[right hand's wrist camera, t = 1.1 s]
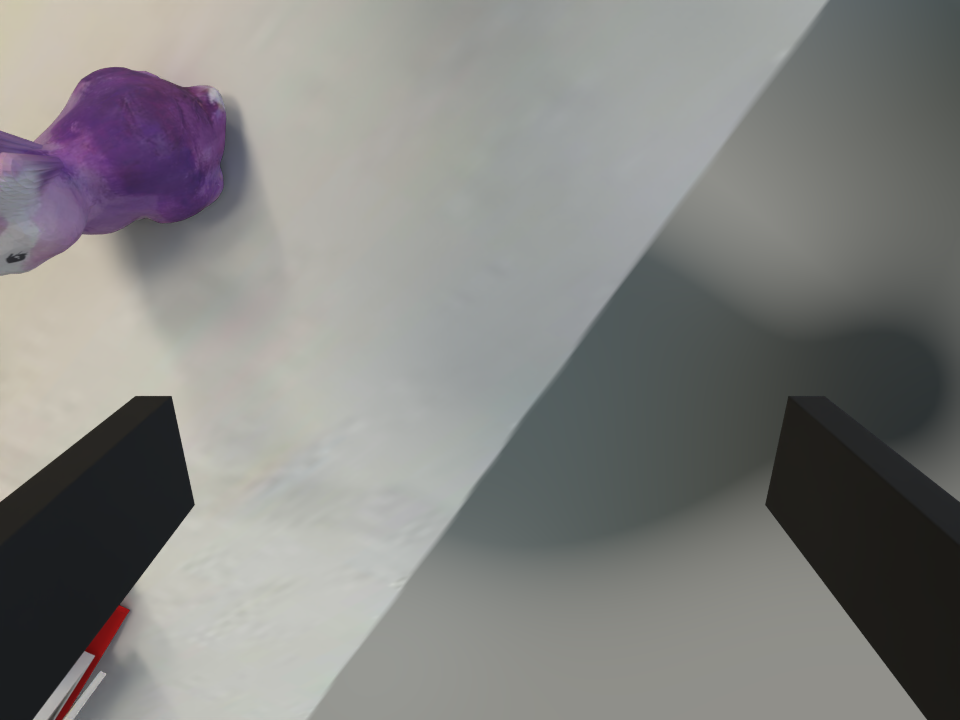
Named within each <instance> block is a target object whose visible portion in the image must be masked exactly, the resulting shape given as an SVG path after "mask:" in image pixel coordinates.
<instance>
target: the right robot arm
mask: <svg viewBox="0 0 960 720" xmlns="http://www.w3.org/2000/svg"><path fill="white" fill-rule="evenodd" d="M194 505H195V504H194V499H193V495H192V490H191V485H190V480H189V476H188V471H187V466H186V462H185V457H184V452H183V448H182V443H181V438H180V433H179V429H178V424H177V419H176V415H175V410H174V405H173V401H172V396H135V397H134V398H133V399H131V400H130V401H129V402H127V403H126V404H125V405H124V406H122V407H121V408H120V409H119V410H117V411H116V412H115V413H113V414H112V415H111V416H110V417H108V418H107V419H106V420H105V421H103V422H102V423H101V424H99V425H98V426H97V427H96V428H94V429H93V430H92V431H90V432H89V433H88V434H87V435H85V436H84V437H83V438H82V439H80V440H79V441H78V442H76V443H75V444H74V445H73V446H71V447H70V448H69V449H68V450H66V451H65V452H64V453H62V454H61V455H60V456H59V457H57V458H56V459H55V460H53V461H52V462H51V463H50V464H48V465H47V466H46V467H45V468H43V469H42V470H41V471H39V472H38V473H37V474H36V475H34V476H33V477H32V478H31V479H29V480H28V481H27V482H25V483H24V484H23V485H22V486H20V487H19V488H18V489H16V490H15V491H14V492H13V493H11V494H10V495H9V496H8V497H6V498H5V499H4V500H2V501H1V502H0V720H33V719H34V718H35V716H36V715H37V714H38V712H39V711H40V710H41V708H42V707H43V706H44V704H45V703H46V702H47V700H48V699H49V698H50V696H51V695H52V694H53V692H54V691H55V690H56V688H57V687H58V686H59V684H60V683H61V682H62V680H63V679H64V678H65V676H66V675H67V674H68V672H69V671H70V670H71V668H72V667H73V666H74V664H75V663H76V662H77V660H78V659H79V658H80V656H81V655H82V654H83V652H84V651H85V650H86V648H87V647H88V646H89V644H90V643H91V642H92V641H93V639H94V638H95V637H96V635H97V634H98V633H99V631H100V630H101V629H102V627H103V626H104V625H105V623H106V622H107V621H108V619H109V618H110V617H111V615H112V614H113V613H114V611H115V610H116V609H117V607H118V606H119V605H120V603H121V602H122V601H123V599H124V598H125V597H126V595H127V594H128V593H129V591H130V590H131V589H132V587H133V586H134V585H135V583H136V582H137V581H138V579H139V578H140V577H141V575H142V574H143V573H144V571H145V570H146V569H147V568H148V566H149V565H150V564H151V562H152V561H153V560H154V558H155V557H156V556H157V554H158V553H159V552H160V550H161V549H162V548H163V546H164V545H165V544H166V542H167V541H168V540H169V538H170V537H171V536H172V534H173V533H174V532H175V530H176V529H177V528H178V526H179V525H180V524H181V522H182V521H183V520H184V518H185V517H186V516H187V514H188V513H189V512H190V510H191V509H192V508H193V506H194ZM765 505H766V506H767V508H768V509H769V510H770V512H771V513H772V514H773V516H774V517H775V518H776V520H777V521H778V522H779V524H780V525H781V526H782V528H783V529H784V530H785V532H786V533H787V534H788V536H789V537H790V538H791V540H792V541H793V542H794V544H795V545H796V546H797V548H798V549H799V550H800V552H801V553H802V554H803V555H804V557H805V558H806V559H807V561H808V562H809V564H810V565H811V566H812V567H813V569H814V570H815V571H816V573H817V574H818V575H819V577H820V578H821V579H822V581H823V582H824V583H825V585H826V586H827V587H828V589H829V590H830V591H831V593H832V594H833V595H834V597H835V598H836V599H837V601H838V602H839V603H840V605H841V606H842V607H843V609H844V610H845V611H846V613H847V614H848V615H849V617H850V618H851V619H852V621H853V622H854V623H855V625H856V626H857V627H858V628H859V630H860V631H861V633H862V634H863V635H864V637H865V638H866V639H867V641H868V642H869V643H870V644H871V646H872V647H873V648H874V650H875V651H876V652H877V654H878V655H879V656H880V658H881V659H882V660H883V662H884V663H885V664H886V666H887V667H888V668H889V670H890V671H891V672H892V674H893V675H894V676H895V678H896V679H897V680H898V682H899V683H900V684H901V686H902V687H903V688H904V689H905V691H906V692H907V694H908V695H909V696H910V698H911V699H912V700H913V702H914V703H915V704H916V706H917V707H918V708H919V709H920V711H921V712H922V714H923V715H924V716H925V718H926V719H927V720H960V502H959V501H957V500H956V499H955V498H954V497H952V496H951V495H950V494H949V493H947V492H946V491H945V490H943V489H942V488H941V487H940V486H938V485H937V484H936V483H935V482H933V481H932V480H931V479H929V478H928V477H927V476H926V475H924V474H923V473H922V472H920V471H919V470H918V469H917V468H915V467H914V466H913V465H912V464H910V463H909V462H908V461H907V460H905V459H904V458H903V457H901V456H900V455H899V454H898V453H896V452H895V451H894V450H892V449H891V448H890V447H889V446H887V445H886V444H885V443H884V442H882V441H881V440H880V439H878V438H877V437H876V436H875V435H873V434H872V433H871V432H869V431H868V430H867V429H866V428H864V427H863V426H862V425H861V424H859V423H858V422H857V421H855V420H854V419H853V418H852V417H850V416H849V415H848V414H847V413H845V412H844V411H843V410H841V409H840V408H839V407H838V406H836V405H835V404H834V403H832V402H831V401H830V400H829V399H827V398H826V397H825V396H789V397H788V401H787V405H786V410H785V415H784V419H783V424H782V429H781V434H780V438H779V443H778V448H777V452H776V457H775V462H774V466H773V471H772V476H771V481H770V485H769V490H768V495H767V499H766V504H765Z"/></svg>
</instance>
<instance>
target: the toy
mask: <svg viewBox="0 0 960 720" xmlns="http://www.w3.org/2000/svg"><path fill="white" fill-rule="evenodd" d="M129 611H130V610H129V609H126V608H124V607H122V606H120V605H119V606H118V607H117V609H116V610H115V611H114V613H113V614H112V615H111V617H110V618H109V619H108V621H107V622H106V623H105V625H104V626H103V627H102V629H101V630H100V631H99V633H98V634H97V635H96V637H95V638H94V639H93V641H92V642H91V643H90V644H89V646H88V647H87V648H86V650H85V651H84V652H83V654H82V655H81V656H80V658H79V659H78V660H77V662H76V663H75V664H74V666H73V667H72V668H71V670H70V671H69V672H68V674H67V675H66V676H65V678H64V679H63V680H62V682H61V683H60V684H59V686H58V687H57V688H56V690H55V691H54V692H53V694H52V695H51V696H50V698H49V699H48V700H47V702H46V703H45V704H44V706H43V707H42V708H41V710H40V711H39V712H38V714H37V715H36V716H35V718H34V719H33V720H73V719H74V718H75V716H76V715H77V714H78V712H79V711H80V710H81V708H82V707H83V705H84V704H85V703H86V701H87V700H88V699H89V697H90V696H91V694H92V693H93V692H94V690H95V689H96V688H97V686H98V685H99V684H100V682H101V681H102V679H103V678H104V677H105V675H106V673H104V672H102V671H100V672H99V673H98V674H97V676H96V677H95V678H94V679H93V681H92V682H91V683H90V685H89V686H88V687H87V688H86V690H85V691H84V692H83V693H82V695H81V696H80V697H79V699H78V700H77V701H76V702H75V704H74V705H73V703H74V701H75V700H76V698H77V696H78V695H79V693H80V691H81V690H82V688H83V687H84V685H85V683H86V682H87V680H88V678H89V677H90V675H91V673H92V672H93V670H94V668H95V667H96V665H97V663H98V662H99V660H100V658H101V657H102V655H103V654H104V652H105V650H106V649H107V647H108V645H109V644H110V642H111V640H112V639H113V637H114V635H115V634H116V632H117V630H118V629H119V627H120V625H121V624H122V622H123V621H124V619H125V617H126V616H127V614H128V612H129ZM72 705H73V706H72ZM71 706H72V708H71ZM70 708H71V709H70Z"/></svg>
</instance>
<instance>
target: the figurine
mask: <svg viewBox="0 0 960 720" xmlns="http://www.w3.org/2000/svg"><path fill="white" fill-rule="evenodd" d="M225 129H226V112H225V106H224V103H223V100H222V97H221V95H220V93H219V91H218V90H217V89H216V88H214V87H212V86H208V85H202V86H193V87H181V86H178V85H176V84H173V83H171V82H168V81H166V80H163V79H160V78H159V77H158V76H156V75H154V74H151V73H149V72H146V71H133V70H130V69H127V68H123V67H110V68H103V69H100V70H97V71H95V72H92V73H91V74H89V75H88V76H86V77H84V78H83V79H82V80H81V81H80V82H79V83H78V85H77V86H76V88H75V90H74V91H73V93H72V95H71V96H70V98H69V100H68V102H67V104H66V106H65V108H64V109H63V110H62V112H61V113H60V115H59V116H58V117H57V118H56V120H55V121H54V122H53V123H52V124H51V125H50V126H49V127H48V128H47V129H46V130H45V131H44V132H43V133H42V134H41V135H40V136H39V137H38V138H37V139H36V140H35V141H34V142H32V141H29V140H26V139H23V138H20V137H17V136H14V135H11V134H8V133H5V132H2V131H0V276H3V275H7V274H20V273H24V272H28V271H30V270H32V269H34V268H36V267H37V266H39V265H40V264H42V263H43V262H45V261H47V260H48V259H50V258H52V257H54V256H55V255H58V254H60V253H62V252H64V251H65V250H67V249H68V248H69V247H70V246H71V245H73V244H74V243H75V242H76V241H77V240H78V239H79V237H80V236H81V235H82V234H90V235H94V234H107V233H112V232H115V231H117V230H120V229H122V228H124V227H126V226H127V225H129V224H130V223H132V222H133V221H135V220H140V219H144V218H148V219H151V220H153V221H156V222H158V223H172V222H177V221H181V220H184V219H187V218H189V217H191V216H193V215H195V214H197V213H198V212H200V211H201V210H202V209H204V208H205V207H207V206H209V205H210V204H211V203H213V202H214V201H215V200H216V199H218V197H219V195H220V194H221V192H222V190H223V183H224V182H223V174H222V171H221V168H220V162H221V159H222V156H223V152H224V147H225Z"/></svg>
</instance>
